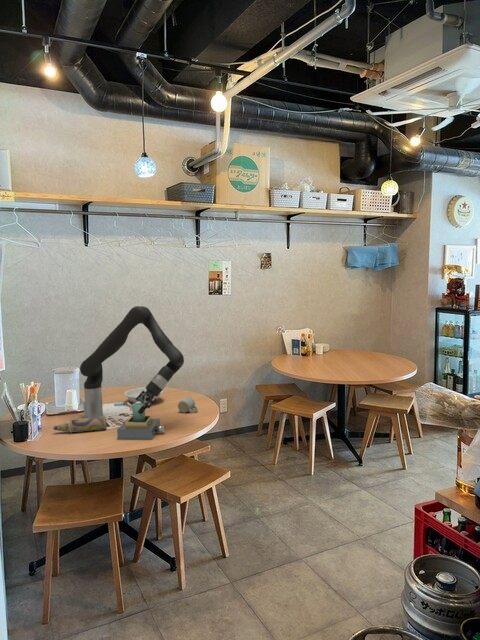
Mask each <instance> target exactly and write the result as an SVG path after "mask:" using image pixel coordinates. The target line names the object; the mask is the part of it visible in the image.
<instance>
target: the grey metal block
mask: <svg viewBox="0 0 480 640" xmlns="http://www.w3.org/2000/svg"><path fill="white" fill-rule="evenodd" d="M160 421H161V419H160V418H153V415H145V422H133V415H130V417H129V418H127V419H125V420H124V421H123V422H122V424H121V425H119V426H118V428H116V429H117V432H116V433H117V434H116V435H117V436H116V437H117V440H153V439H154V438H155V436H156V435H157V434H158V433H161V432H162V433H163V432H164V433H165V430H166V427H165V425H161V422H160Z"/></svg>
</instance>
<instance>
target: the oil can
mask: <svg viewBox="0 0 480 640" xmlns="http://www.w3.org/2000/svg"><path fill="white" fill-rule="evenodd" d="M126 404H127V405H128V406H129V407H130V408H131V409H132V416H133V422H145V416H146V410H145V411H144V412H143V413H142V414H139V413H138V411H139V409H140V408H141V407H142V406H143V404H144V403H142V402H140V401H138V402H136V403H134V402H133V403H132V404H131V403H129V402H126Z"/></svg>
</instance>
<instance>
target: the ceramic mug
mask: <svg viewBox="0 0 480 640" xmlns="http://www.w3.org/2000/svg"><path fill="white" fill-rule="evenodd" d="M177 409H178V410H179V412H181V413H184V414H185V413H188V412H190V413H192V414H195V413H197V412H198V410H199V409H198V407H197V406H196V402H195V400H194V399H193V398H192V397H191V396H185V397H184V398H183V399H181V400H180V401H179V402H178V403H177ZM193 409H194V410H193Z"/></svg>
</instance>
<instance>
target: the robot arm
mask: <svg viewBox="0 0 480 640" xmlns="http://www.w3.org/2000/svg"><path fill="white" fill-rule="evenodd" d="M139 324H140V325H141V324H142V325H143V326H144V327H145V328H146V329H147V330H148V332H149V333H150V335H151V337H152V340H153V342H154V344H155V345H156V347H157V348H158V349H159V350H160V351H161V352H162V353H163V354H164V355H165V356H166V357H167V359H168V360H169V361H168V362H167V363H166V364H165V365H164V366H162V367H161V368H160V369H159V371H158V372H157V373H156V374H155V375H154V376H153V377H152V378H151V380H150V381H149V382H148V384H147V385H146V386H145V387H146V389H147V391H146V392H145V391H142V392H141V393H140V394H139V395H138V397H137V398H136V402H138V401H140V402H143V403H144V404H143V406H142V407H141V408H140V409H139V411H138V413H139V414H142V413H143V412H144V411H145V412H146V409H150V408H151V407H152V406H153V404H154V403H155V402H156V401H157V400H156V398H155V397H154V396H156V397H157V396H158V395H159V394H160V393H161V391H162V390H163V391H164V388H166V386H167V384H168V383H169V381H171V380H172V378H173V376H174V375H175V374H176V373H177V372H179V370H180V369H181V368H182V367H183V366H184V363H185V357H184V355H183V353H182V352H181V351H180V349H178V348H177V347H176V346H175V345H174V343H173V342H172V341H171V340H170V338H169V337H168V336H167V334H166V333H165V332H164V331H163V330H162V328H161V326H160V325H159V324H158V321H157V320H156V318H155V316H154V315H153V313H152V311H151V310H150V308H148V307H147V306H143V305H142V306H139V305H136V306H134V307H132V308H131V309H130V310H129V311H128V312H127V314H126V315H125V316H124V318H123V319H122V321H121V322H120V323H118V325H117V326H116V327H115V328H114V329H113V330H112V331H111V332H110V333H109V334H108V335H107V336H106V337H105V338H104V340H103V341H102V342H101V343H100V344H99V345H98V347H97V348H96V349H95V351H93V352H92V353H91V354H90V355H89V356H88V357H87V358H85V360H83V361H82V362H81V364H80V367H79V371H80V374H81V375H82V376H84V377H86V379H85V381H84V383H83V390H84V394H83V395H84V401H83V416H84V417H83V419H84V418H93V417H103V416H104V410H103V409H104V408H103V406H104V405H103V392H102V391H103V390H102V383H103V381H104V380H103V377H104V375H103V363H104V362H105V361H106V360H108V359H109V358H111V357H112V356H113V355H114V354H116V353H117V352H118V351H119V350H120V349H121V348H122V347H123V346H124V345H125V343H126V342H127V339H128V337H129V334H130V332H131V331H132V330H133V329H134V328H135V327H137V326H138V325H139ZM138 398H139V399H138Z"/></svg>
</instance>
